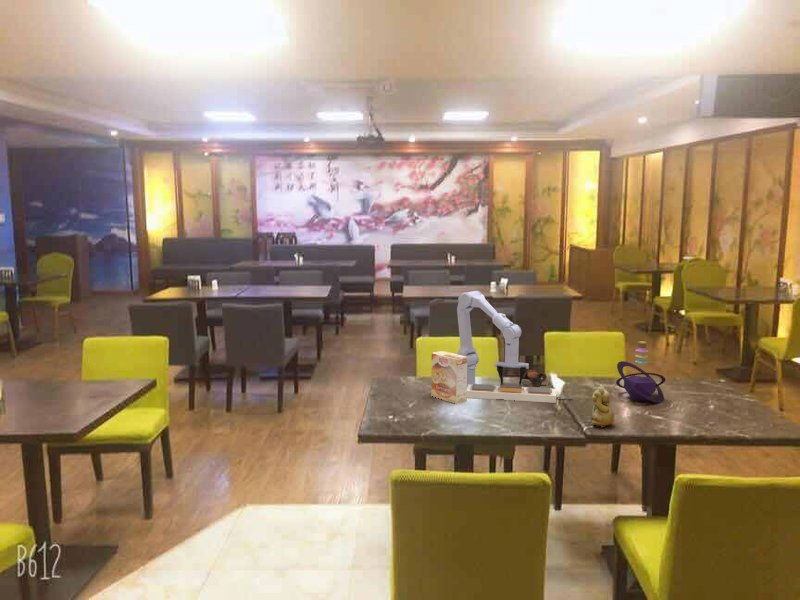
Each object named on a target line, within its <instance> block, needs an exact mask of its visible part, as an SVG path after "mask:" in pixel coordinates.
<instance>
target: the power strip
mask: <svg viewBox="0 0 800 600" xmlns="http://www.w3.org/2000/svg"><path fill="white" fill-rule="evenodd" d="M472 386H473V385H472V384H468V387H467V399H478V398H480V399H479V400H482V399H483V400H496V399H504V400H503V401H514V400H515V401H516V402H517V401H518V402H533V403H534V402H535V403H537V402H538V403H550V404H551V403H553V404H554V403H555V404H556V403H557V400H559V399H558V398H564V399H572V400H573V397H568V396H567V397H566V396H557V391H556V389H555V388H550V392H551V395H542V394H528V386H527V387H524V386H522V392H508V391H500V385H494V392H486V391H472Z"/></svg>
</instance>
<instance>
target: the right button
mask: <svg viewBox="0 0 800 600" xmlns="http://www.w3.org/2000/svg"><path fill="white" fill-rule="evenodd" d="M527 387H528V386H527ZM550 389H551V387H541V386H540V387H528V394H542V395H551V392H550Z"/></svg>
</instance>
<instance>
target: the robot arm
mask: <svg viewBox="0 0 800 600" xmlns="http://www.w3.org/2000/svg"><path fill="white" fill-rule="evenodd" d="M457 299H458V302H457V303H458V304H457V307H456V313H457V323H458V334H459V343H460V347H459V349H458V350H457V353H456V354H458V355H462V356H467V387H468V384H472V385H473V384H477V383H476V367H477V365H478V364H479V360H480V357H479V355H478V352H477V349H476V347H474V345H473V335H472V327H471V324H472V323H471V317H470V315H471V313H470V312H471V311H472V310H473V309H474V308H479V309H481V310H482V311H483V312H484V313H485V314H486V315H487V316H488V317H490V318H491V319H492V324H494V325H495V326H496V327H497V329H499V331H501V332H502V336H503V338H504V343H505V344H504V346H505V347H504V361H494V365H493V367H494V368H496V371H497V373H498V376H499V378H500V383H501V384H503V382H504V368H512V369H513V368H514V369H515V368H516V369H519V382H518V383H519V385H521V383H522V381H523V379H522V378H523V376H524V373H525V372H526V371H527V370H530V369H529V368H530V367H529V363H527V362H519V345H520V344H519V343H520V341H519V339H520V337H521V335H522V328H521V327H520V325H518V324H515V323H513V321H511V320H510V319H509V318H508V317H507V316H506V314H505V313H502V312H499V313H498V311H497V310H496V309H495V308H494V307H493V306H492V304H491V303H489V302H488V301H487V299H486V297H485V295H484V294H482V292H481V291H479V290H473V291H466V292H461V294H460V295H459V296H458V298H457Z"/></svg>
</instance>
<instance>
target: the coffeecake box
mask: <svg viewBox="0 0 800 600" xmlns="http://www.w3.org/2000/svg"><path fill="white" fill-rule="evenodd" d="M430 391H431V393H430V395H431V397H432V396H433V397H432V398H435V397H436V398H435V399H438V398H439V399H438V400H441V399H442V401H446V402H448V403H451V402H452V403H451V404H454V403H455V405H457V403H458V404H460V402H461V403H465V402H467V401H468V398H467V356H462V355H458V354H457V353H453V352H449V351H445V350H440V351H435V352H434V351H433V352H431V389H430ZM464 401H465V402H464Z"/></svg>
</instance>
